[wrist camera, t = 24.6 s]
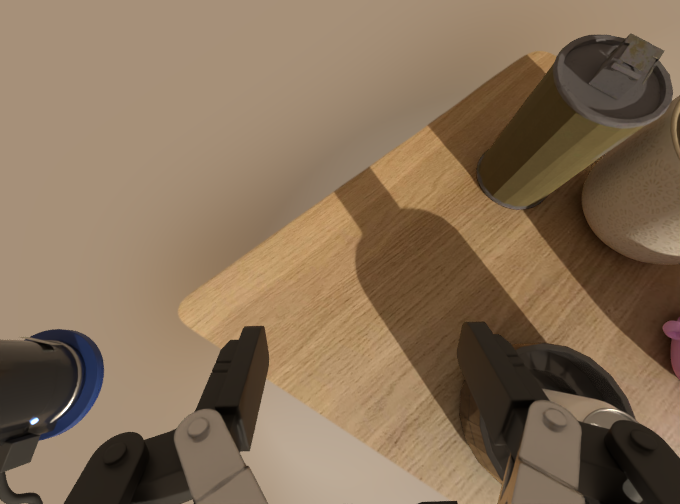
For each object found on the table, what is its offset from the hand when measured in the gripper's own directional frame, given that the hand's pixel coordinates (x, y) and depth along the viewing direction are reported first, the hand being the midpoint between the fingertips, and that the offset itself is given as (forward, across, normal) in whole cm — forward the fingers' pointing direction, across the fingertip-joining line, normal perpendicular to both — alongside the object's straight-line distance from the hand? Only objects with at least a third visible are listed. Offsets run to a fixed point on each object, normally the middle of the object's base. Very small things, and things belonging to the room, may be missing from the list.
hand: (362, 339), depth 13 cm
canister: (+35, -24, +3) cm, 43 cm away
